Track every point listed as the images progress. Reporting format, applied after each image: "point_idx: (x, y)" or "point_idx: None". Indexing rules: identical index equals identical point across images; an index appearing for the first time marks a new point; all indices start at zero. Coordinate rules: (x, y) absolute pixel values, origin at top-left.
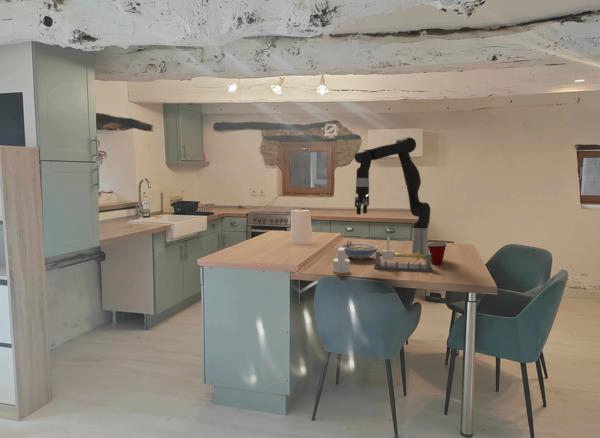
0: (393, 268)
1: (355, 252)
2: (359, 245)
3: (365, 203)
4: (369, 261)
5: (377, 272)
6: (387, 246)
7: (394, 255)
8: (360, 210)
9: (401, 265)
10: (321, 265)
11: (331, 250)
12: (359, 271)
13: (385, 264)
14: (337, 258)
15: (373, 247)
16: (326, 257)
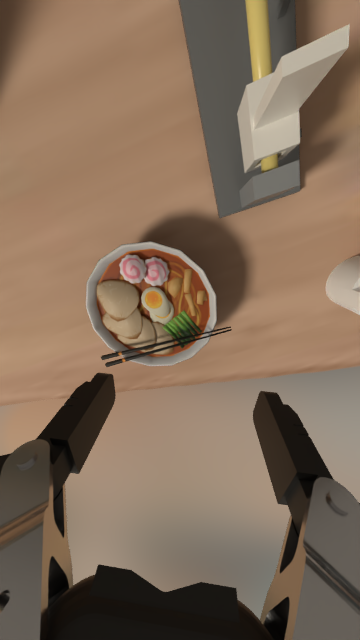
0: None
1: (210, 300)
2: (107, 325)
3: (53, 541)
4: None
5: (354, 155)
6: (310, 91)
7: None
8: (288, 432)
9: (238, 79)
10: (291, 350)
11: None
12: (348, 227)
13: None
14: (355, 311)
15: (101, 274)
16: (191, 370)
